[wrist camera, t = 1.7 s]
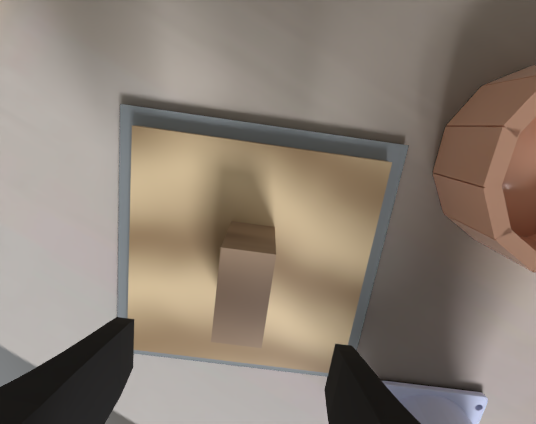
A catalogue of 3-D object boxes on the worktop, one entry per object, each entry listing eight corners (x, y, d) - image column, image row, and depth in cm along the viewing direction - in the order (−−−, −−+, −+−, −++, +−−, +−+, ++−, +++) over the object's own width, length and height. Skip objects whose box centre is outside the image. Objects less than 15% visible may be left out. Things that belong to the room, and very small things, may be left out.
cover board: (338, 365, 21) (357, 431, 17) (132, 340, 21) (93, 401, 16) (386, 160, 18) (428, 173, 13) (138, 125, 17) (89, 125, 13)
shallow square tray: (347, 373, 22) (349, 379, 22) (120, 346, 22) (116, 351, 21) (404, 144, 18) (408, 145, 17) (124, 104, 17) (119, 103, 17)
